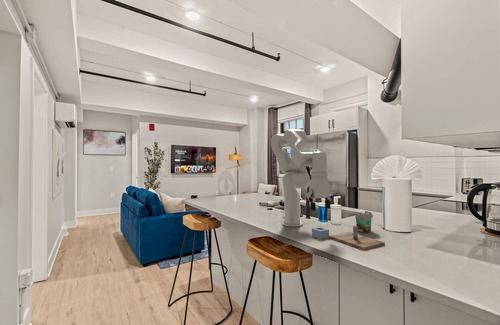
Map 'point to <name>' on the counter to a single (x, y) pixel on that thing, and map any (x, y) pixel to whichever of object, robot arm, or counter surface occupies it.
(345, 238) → the shaft stand
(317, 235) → the collar
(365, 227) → the food container
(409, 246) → the counter surface
